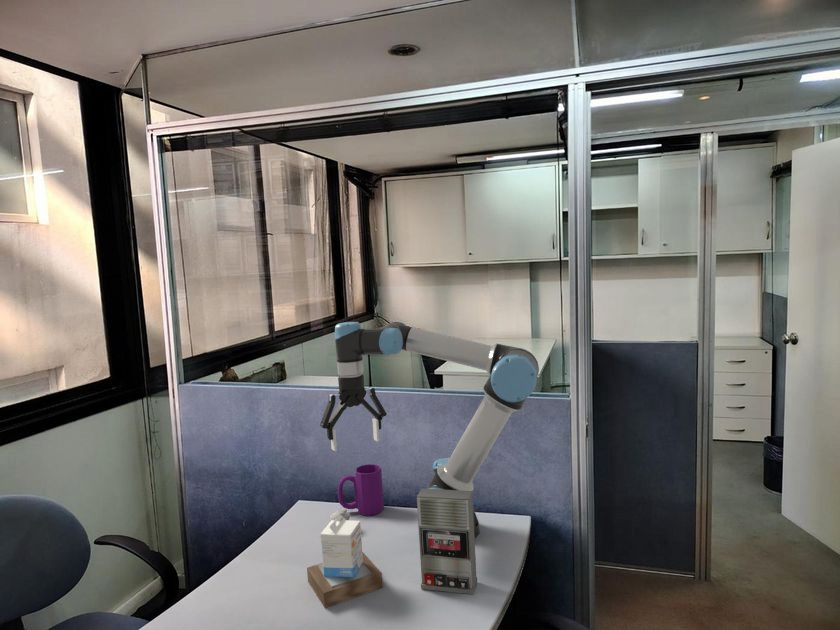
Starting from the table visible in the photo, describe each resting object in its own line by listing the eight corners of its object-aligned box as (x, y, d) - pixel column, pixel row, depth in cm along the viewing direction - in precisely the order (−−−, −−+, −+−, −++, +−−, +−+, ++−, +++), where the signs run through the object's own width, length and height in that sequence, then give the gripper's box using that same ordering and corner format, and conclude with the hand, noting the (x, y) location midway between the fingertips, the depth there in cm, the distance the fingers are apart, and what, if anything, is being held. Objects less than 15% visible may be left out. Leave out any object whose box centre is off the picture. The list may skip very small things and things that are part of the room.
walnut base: (362, 563, 161) (361, 549, 160) (382, 587, 148) (381, 571, 148) (308, 581, 153) (306, 566, 153) (324, 608, 141) (323, 591, 140)
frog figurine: (347, 535, 178) (345, 514, 177) (326, 534, 180) (325, 513, 179) (354, 526, 184) (352, 506, 183) (334, 525, 186) (332, 505, 185)
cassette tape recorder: (420, 590, 146) (415, 497, 144) (426, 577, 152) (421, 488, 149) (473, 596, 142) (468, 501, 140) (477, 582, 148) (472, 491, 146)
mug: (384, 515, 191) (381, 472, 189) (338, 519, 190) (334, 476, 188) (384, 503, 200) (381, 463, 198) (340, 507, 199) (337, 466, 197)
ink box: (353, 578, 145) (350, 529, 144) (323, 576, 147) (319, 527, 146) (363, 561, 154) (360, 514, 152) (334, 559, 155) (331, 512, 154)
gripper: (383, 367, 174) (388, 433, 176) (305, 379, 163) (311, 450, 165) (394, 370, 168) (399, 439, 170) (313, 383, 156) (319, 457, 158)
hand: (355, 445), depth 167 cm, fingers open, 13 cm apart
